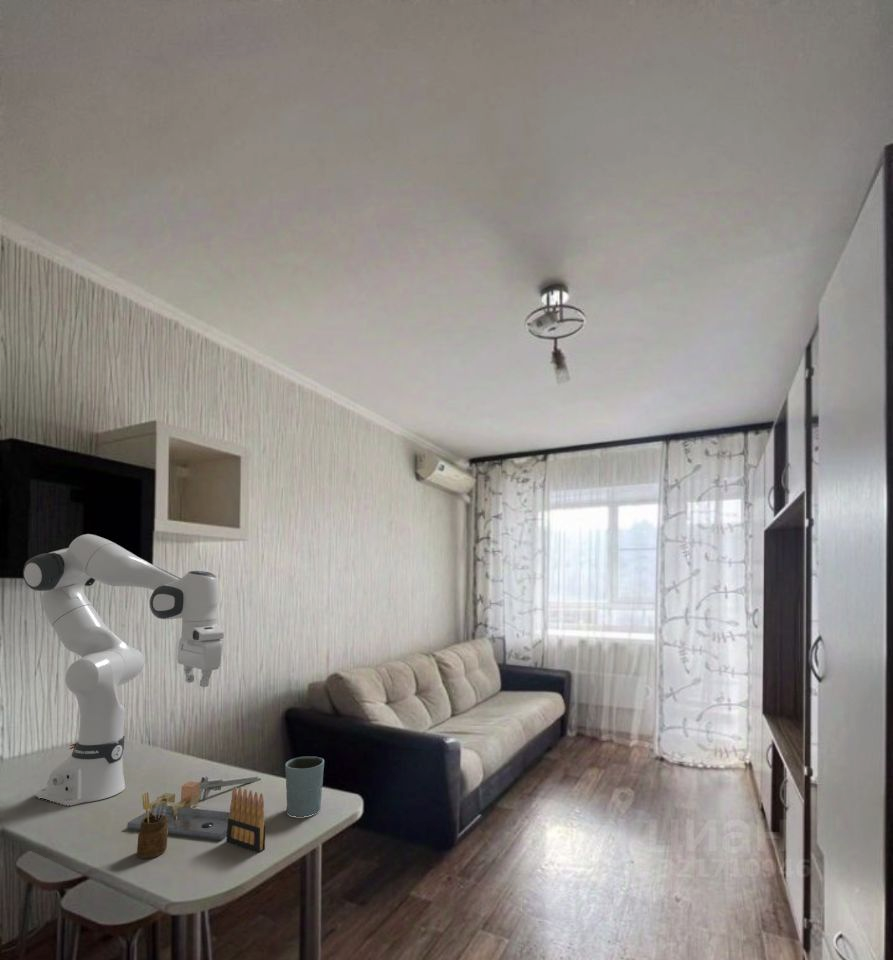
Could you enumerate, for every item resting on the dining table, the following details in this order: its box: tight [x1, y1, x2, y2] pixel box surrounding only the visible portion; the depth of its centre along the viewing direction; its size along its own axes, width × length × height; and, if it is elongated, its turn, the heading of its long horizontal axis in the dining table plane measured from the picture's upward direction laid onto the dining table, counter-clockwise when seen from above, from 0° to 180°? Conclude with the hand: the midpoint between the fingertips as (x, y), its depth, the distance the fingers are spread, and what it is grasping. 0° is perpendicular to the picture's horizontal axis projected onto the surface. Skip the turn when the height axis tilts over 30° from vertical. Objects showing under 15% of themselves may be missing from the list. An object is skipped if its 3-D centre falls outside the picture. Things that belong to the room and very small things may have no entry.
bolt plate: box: [126, 792, 230, 841], centre depth 137 cm, size 26×10×5 cm, turn 77°
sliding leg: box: [173, 781, 201, 820], centre depth 139 cm, size 3×7×6 cm, turn 167°
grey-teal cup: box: [284, 755, 325, 817], centre depth 146 cm, size 10×10×12 cm
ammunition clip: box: [225, 785, 266, 854], centre depth 128 cm, size 11×2×12 cm, turn 61°
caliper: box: [199, 775, 262, 803], centre depth 159 cm, size 20×1×6 cm, turn 146°
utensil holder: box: [136, 791, 169, 860], centre depth 125 cm, size 6×6×12 cm
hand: (196, 684), depth 149 cm, fingers open, 8 cm apart
